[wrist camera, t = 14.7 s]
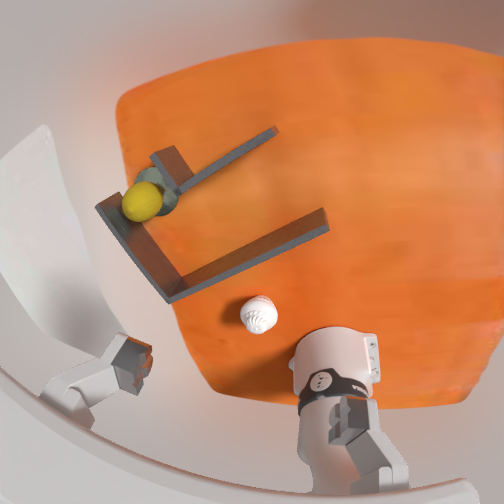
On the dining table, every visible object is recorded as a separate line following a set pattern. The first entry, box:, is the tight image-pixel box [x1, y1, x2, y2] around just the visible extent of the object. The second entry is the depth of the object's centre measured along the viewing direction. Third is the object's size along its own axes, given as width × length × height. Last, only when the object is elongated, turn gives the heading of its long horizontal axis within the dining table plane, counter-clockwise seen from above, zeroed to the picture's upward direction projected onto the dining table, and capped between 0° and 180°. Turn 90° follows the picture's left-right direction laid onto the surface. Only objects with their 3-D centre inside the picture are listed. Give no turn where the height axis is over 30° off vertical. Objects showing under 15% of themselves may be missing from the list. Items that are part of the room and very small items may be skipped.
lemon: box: [122, 181, 163, 222], centre depth 37 cm, size 6×6×8 cm
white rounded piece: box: [240, 295, 278, 334], centre depth 45 cm, size 6×6×7 cm
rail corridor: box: [95, 126, 330, 304], centre depth 38 cm, size 20×28×6 cm
